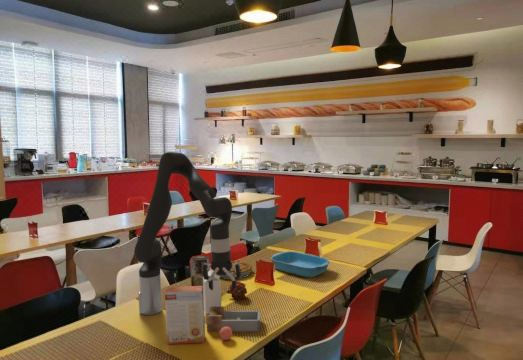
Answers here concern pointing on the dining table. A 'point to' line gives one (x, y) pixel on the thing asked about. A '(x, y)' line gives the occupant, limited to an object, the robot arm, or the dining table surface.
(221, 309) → the ramp
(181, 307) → the cracker box
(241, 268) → the pie
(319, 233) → the dining table surface
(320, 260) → the casserole dish
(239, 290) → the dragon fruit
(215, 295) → the milk carton
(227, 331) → the ball
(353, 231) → the dining table surface
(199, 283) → the coffee box
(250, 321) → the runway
